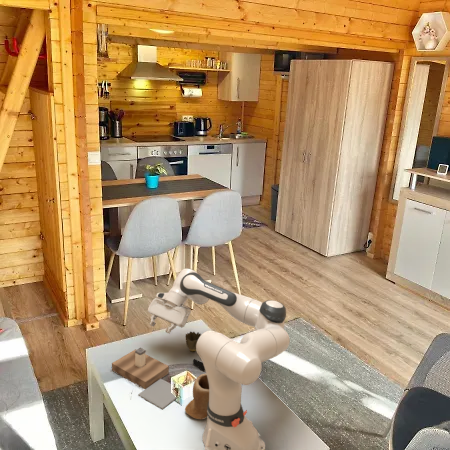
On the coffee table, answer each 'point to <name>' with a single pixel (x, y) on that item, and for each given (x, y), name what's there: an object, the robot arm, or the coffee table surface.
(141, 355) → the beige square peg
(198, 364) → the electric trimmer
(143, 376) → the wooden block with hole
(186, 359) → the coffee table surface
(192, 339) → the cup
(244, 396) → the coffee table surface
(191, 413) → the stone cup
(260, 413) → the coffee table surface
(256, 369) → the robot arm
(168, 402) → the mat
